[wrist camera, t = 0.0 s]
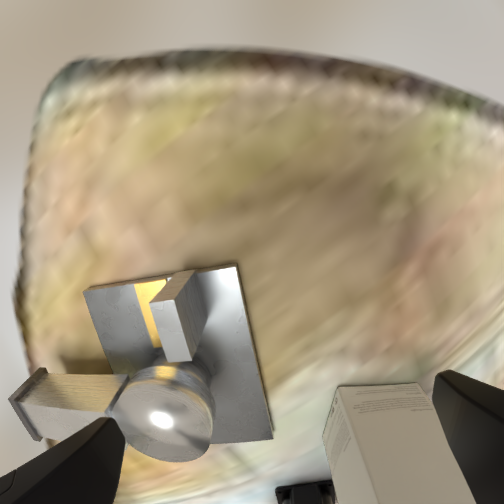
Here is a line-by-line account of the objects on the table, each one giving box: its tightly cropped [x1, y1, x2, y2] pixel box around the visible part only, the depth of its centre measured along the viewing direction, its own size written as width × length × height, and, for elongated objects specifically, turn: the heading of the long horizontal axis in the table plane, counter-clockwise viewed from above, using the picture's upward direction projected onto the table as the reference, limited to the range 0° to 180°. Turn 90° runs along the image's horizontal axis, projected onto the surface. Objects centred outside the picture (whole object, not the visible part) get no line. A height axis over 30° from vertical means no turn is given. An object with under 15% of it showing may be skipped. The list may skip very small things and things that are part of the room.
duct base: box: [83, 263, 273, 444], centre depth 20 cm, size 16×12×6 cm
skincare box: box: [322, 383, 476, 504], centre depth 17 cm, size 8×7×16 cm
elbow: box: [8, 366, 216, 462], centre depth 19 cm, size 16×6×5 cm, turn 101°
